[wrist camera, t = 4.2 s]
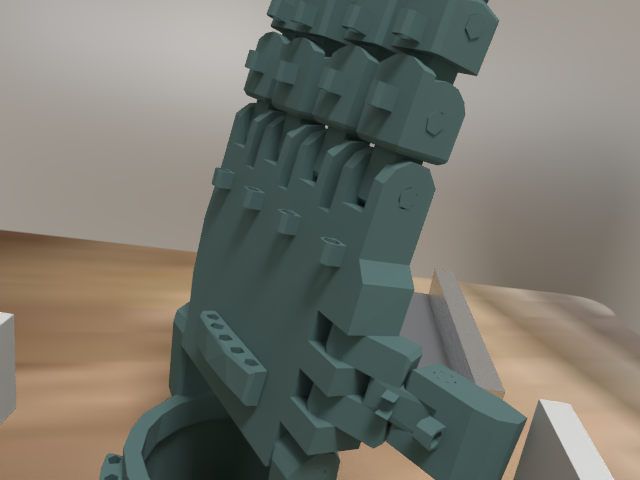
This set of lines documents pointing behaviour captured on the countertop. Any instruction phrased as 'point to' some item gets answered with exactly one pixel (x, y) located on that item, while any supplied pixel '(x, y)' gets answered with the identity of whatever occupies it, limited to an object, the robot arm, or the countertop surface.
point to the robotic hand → (325, 261)
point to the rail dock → (450, 333)
